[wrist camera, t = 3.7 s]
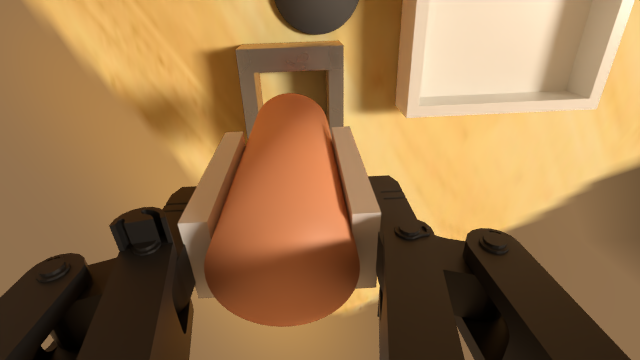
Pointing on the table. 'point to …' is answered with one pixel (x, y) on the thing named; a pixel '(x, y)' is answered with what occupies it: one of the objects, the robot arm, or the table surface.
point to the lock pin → (284, 223)
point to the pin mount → (290, 59)
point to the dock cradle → (506, 55)
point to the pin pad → (316, 14)
